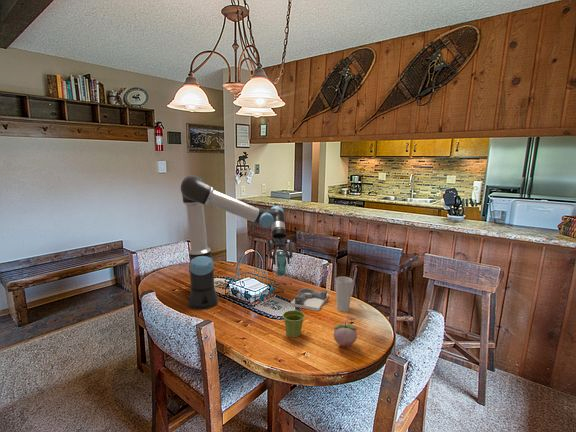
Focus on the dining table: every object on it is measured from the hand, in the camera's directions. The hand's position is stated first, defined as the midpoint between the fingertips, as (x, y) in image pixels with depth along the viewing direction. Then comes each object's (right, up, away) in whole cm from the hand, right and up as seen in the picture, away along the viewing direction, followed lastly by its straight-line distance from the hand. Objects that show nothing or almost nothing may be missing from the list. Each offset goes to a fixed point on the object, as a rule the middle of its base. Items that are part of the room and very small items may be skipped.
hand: (281, 269), depth 165 cm
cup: (+31, -19, -5) cm, 36 cm away
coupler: (0, -3, +4) cm, 5 cm away
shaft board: (+15, -17, +4) cm, 23 cm away
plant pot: (+5, -23, -27) cm, 36 cm away
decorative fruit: (+26, -25, -36) cm, 51 cm away
